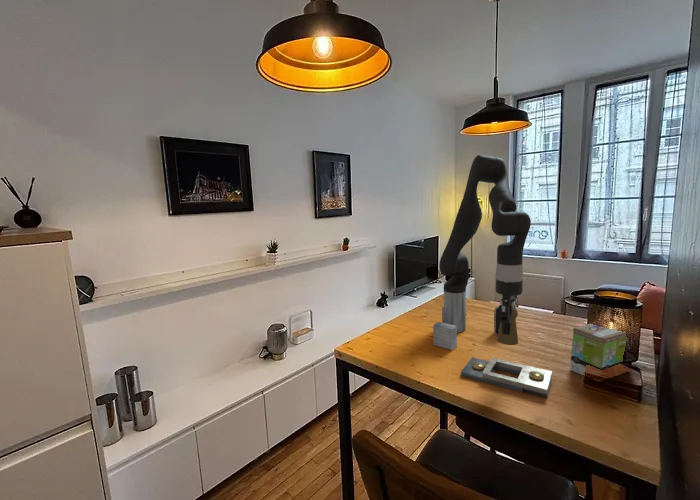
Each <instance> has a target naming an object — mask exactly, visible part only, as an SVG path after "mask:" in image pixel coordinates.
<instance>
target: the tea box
mask: <svg viewBox="0 0 700 500" xmlns="http://www.w3.org/2000/svg"><path fill="white" fill-rule="evenodd" d="M571 341H572V342H571V344H572V345H571V352H570V364H569V365H570V366H569V370H571V371H573V372H574V373H577V374H579V375H581V376H583V375H584V372H585V368H586V365H590V366H593V367H595V368H597V369H600V370H604V369H607V368H610V367H612V366H615V365H618V364H622V363H623V355H624V351H625V346H626V341H627V337H626V333H625V332H622V331H617V330H613V329H609V328H605V327H601V326H597V325H593V324H591V323H588V324H584V325H580V326H576V327H573V332H572V340H571Z"/></svg>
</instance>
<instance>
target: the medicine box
mask: <svg viewBox="0 0 700 500" xmlns="http://www.w3.org/2000/svg"><path fill="white" fill-rule="evenodd" d="M432 327H433V328H432V329H433V346H436V347H438V348H439V347H440V348H443V349H446V350H450V351H453V350H454V349H455V348H456V347H458V332H457V326H455V325H451V324H447V323H442V321H438V322H436V323H434V324H433V325H432Z"/></svg>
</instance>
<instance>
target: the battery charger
mask: <svg viewBox="0 0 700 500" xmlns="http://www.w3.org/2000/svg"><path fill="white" fill-rule="evenodd" d="M493 311H494V312H493V324H494V325H493V332H494V333H495V334H497V335H498V332H499V326H500V314H499V305H498V306H496V307H495V308H494V310H493Z"/></svg>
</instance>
